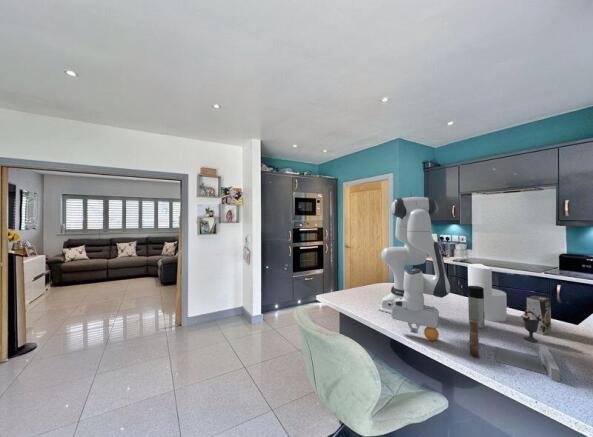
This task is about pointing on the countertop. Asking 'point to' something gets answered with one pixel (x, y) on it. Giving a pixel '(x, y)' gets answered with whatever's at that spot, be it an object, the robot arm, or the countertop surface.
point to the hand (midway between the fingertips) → (414, 332)
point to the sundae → (530, 324)
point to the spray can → (476, 305)
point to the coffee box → (541, 312)
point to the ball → (431, 333)
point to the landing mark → (519, 359)
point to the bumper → (549, 363)
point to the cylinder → (488, 292)
